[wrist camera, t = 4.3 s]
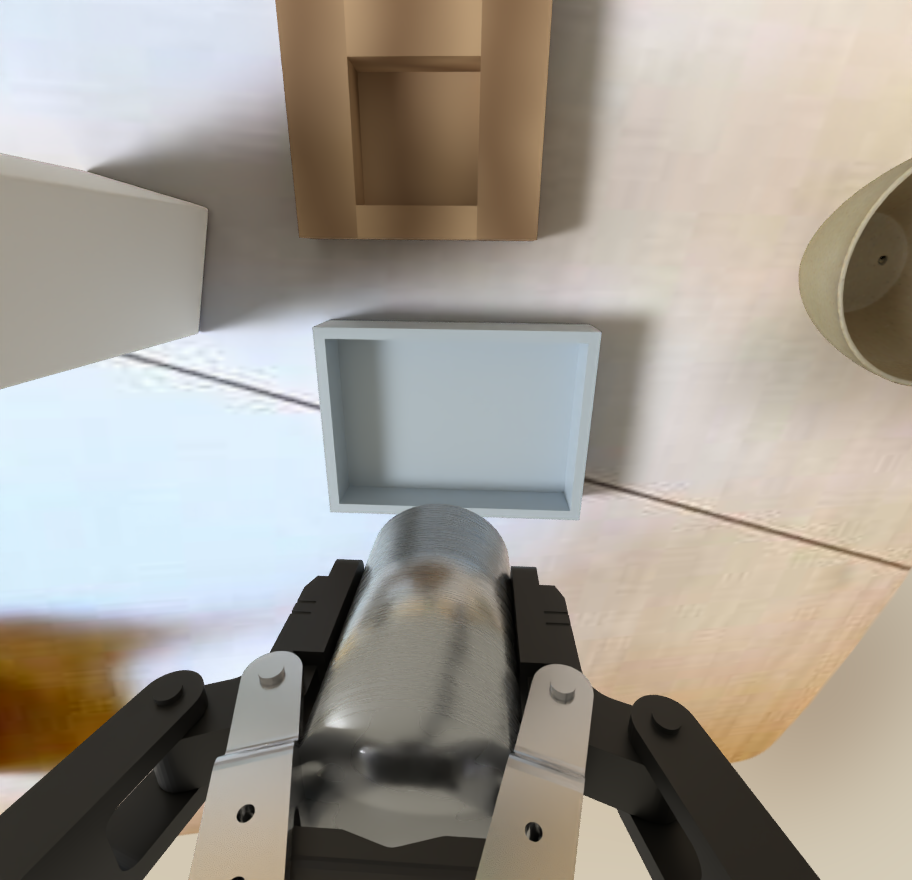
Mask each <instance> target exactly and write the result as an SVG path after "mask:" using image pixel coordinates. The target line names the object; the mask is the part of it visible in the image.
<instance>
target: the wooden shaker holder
mask: <svg viewBox="0 0 912 880" xmlns="http://www.w3.org/2000/svg"><path fill="white" fill-rule="evenodd" d="M275 2H276V12H277V22H278V31H279V41H280V51H281V61H282V71H283V81H284V91H285V101H286V111H287V121H288V131H289V141H290V151H291V161H292V171H293V181H294V191H295V201H296V210H297V220H298V230H299V238H310V239H374V240H479V241H534V240H537V230H538V215H539V199H540V184H541V169H542V154H543V139H544V123H545V108H546V93H547V78H548V63H549V47H550V32H551V17H552V2H553V0H275Z"/></svg>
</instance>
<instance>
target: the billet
mask: <svg viewBox="0 0 912 880" xmlns="http://www.w3.org/2000/svg"><path fill="white" fill-rule="evenodd" d="M521 722H522V710H521V698H520V689H519V682H518V670H517V657H516V645H515V633H514V621H513V608H512V596H511V584H510V566H509V557H508V551H507V549H506V546H505V543H504V541H503V539H502V537H501V536H500V535H499V533H498V532H497V530H496V529H495V528H494V527H493V526H492V525H491V524H490V523H489V522H488V521H486V520H485V519H484V518H482V517H481V516H479V515H478V514H476V513H474V512H472V511H470V510H468V509H465V508H462V507H459V506H454V505H449V504H426V505H420V506H416V507H412V508H410V509H407V510H405V511H403V512H401V513H399V514H398V515H396V516H395V517H393V518H392V519H391V520H389V521H388V522H387V523H386V524H385V526H384V527H383V528H382V529H381V531H380V532H379V534H378V536H377V538H376V540H375V542H374V545H373V548H372V550H371V553H370V556H369V558H368V561H367V564H366V566H365V569H364V572H363V574H362V577H361V580H360V582H359V585H358V588H357V590H356V593H355V596H354V598H353V601H352V604H351V607H350V609H349V612H348V615H347V617H346V620H345V623H344V625H343V628H342V631H341V633H340V636H339V639H338V641H337V644H336V647H335V649H334V652H333V655H332V657H331V660H330V663H329V665H328V668H327V671H326V673H325V676H324V679H323V681H322V684H321V687H320V689H319V692H318V695H317V698H316V700H315V703H314V706H313V708H312V711H311V714H310V716H309V719H308V722H307V724H306V727H305V730H304V732H303V735H302V738H301V742H300V746H299V753H300V759H301V767H302V779H303V785H304V791H305V797H306V803H307V809H308V812H309V814H310V820H311V826H312V827H318V828H333V829H343V830H346V831H348V832H351V833H353V834H356V835H358V836H361V837H363V838H366V839H368V840H371V841H373V842H376V843H378V844H381V845H383V846H386V847H392V848H393V847H398V846H403V845H407V844H411V843H415V842H420V841H424V840H428V839H432V838H437V837H441V836H457V837H472V838H487V834H488V831H489V827H490V823H491V820H492V816H493V812H494V808H495V805H496V801H497V797H498V794H499V790H500V786H501V782H502V779H503V775H504V771H505V768H506V764H507V761H508V757H509V755H510V753H511V752H514V749H515V745H516V741H517V738H518V734H519V730H520V726H521Z"/></svg>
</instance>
